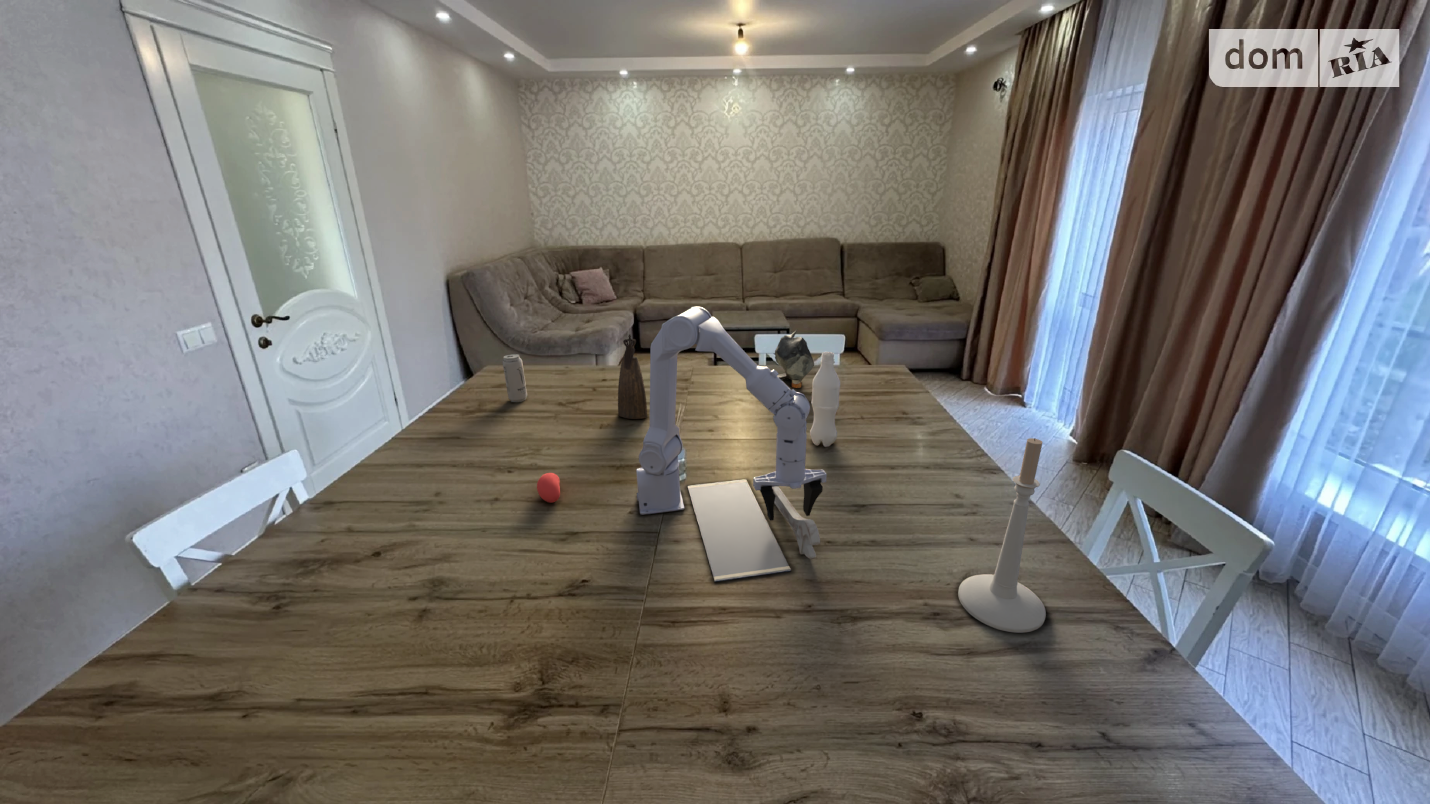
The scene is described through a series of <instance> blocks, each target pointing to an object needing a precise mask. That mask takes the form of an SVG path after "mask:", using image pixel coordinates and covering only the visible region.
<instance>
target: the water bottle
mask: <svg viewBox="0 0 1430 804" xmlns="http://www.w3.org/2000/svg"><path fill="white" fill-rule="evenodd" d="M834 357H835V353H834V352H833V351H823V352H821V359H820V362H819V363H820V367H819V368H818V371H817V372H816V374H815V375H814V377H813V378H812V383H811V386H812V388H811V389H812V391H811V392H812V393H811V402H810V403H811V404H810V405H811V407H812V410H813V422H812V426H811V429H809V435H810V439H811V441H812V443H813V444H814V445H815V446H819V445H820V444H821V443H822V445H823V447H825V448H829V447H830V446H831V445H833V444H834V443H835V442H836V440H837V438H838V431H837V426H836V413H837V411H838V409H839V408H840V391H841V390H840V389H841V380H840V378H839V375H838V374H837V373H838V372H837V370H836V369H835V363H836V361H835V358H834Z"/></svg>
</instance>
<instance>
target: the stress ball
mask: <svg viewBox="0 0 1430 804" xmlns="http://www.w3.org/2000/svg"><path fill="white" fill-rule="evenodd" d="M560 483H561V480H560V477H559V476H558V474H556V473H554V472H546V473H543V474H542V475H541V476H540V477H539V478H538V479H537V483H536V490H537V493H538V496H539V497H540V498H541V499H542V501H545V502H547V503H550V504H551V503H552V504H553V503H555V502H557V501H558V500H559V498H560V497H561V487H560Z"/></svg>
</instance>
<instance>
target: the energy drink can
mask: <svg viewBox="0 0 1430 804" xmlns="http://www.w3.org/2000/svg"><path fill="white" fill-rule="evenodd" d="M502 368H503V374H504V380H505V387H506V392H507V397H508V400H510V402H511V403H522V402H524V401H526V400H527V398H528V390H527V384H526V377H525V370H524V364H523V360H522V358H521V356H520V354H516V353H511V354H510V353H509V354H505V355H504V356H503V360H502Z"/></svg>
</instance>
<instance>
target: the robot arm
mask: <svg viewBox="0 0 1430 804" xmlns="http://www.w3.org/2000/svg"><path fill="white" fill-rule="evenodd" d="M694 345H696V347H695V348H694V349H695V350H694V351H697V352H710V353H711V352H712V353H715V354H716V355H717V356H718V357H719V358H720V359H722V360H723V361H724V362H725V363H726V364H727V365H729V366H730V367H731V368H732V369H733V370H734V371H736V373H738V374H739V375H740V376H741V377H742V378H743V379H744V380H745V387H746V388H745V389H746V390H747V391H748V392H749V393H750V394H751V395H752V396H753V397H754V398H755V399H756V400H757V401H758V402H760V404H761V405H762V406H764V407H765V408H766V409H767V410H768V411H769V412H770V413H771V414H772V415H773V416H772V418H773V423H774V424H775V426H776V427H777V429H776V430H777V431H776V445H775V471H772V472H768V473H766V474H763V475H759V476H753V478H752V486H753V488H754V489H755V491H759V492H760V494H761V496H762V499H763V502H764V504H765V508H766V514H767V517H768V520H769V521H774V520H775V503H774V502H775V497H776V496H775V494H774V492H773V489H772V487H775V486H778V487H789V488H790V489H792V490H796V489H801V488H802V485H803V502H802V503H803V504H802V511H803V512H804V514H805V516H806V517H809V516H811V512H812V510H813V507H814V505H815V503H816V501H817V499H818V498H819V497H820V495H821V494H822V493H823V489H824V487H823V485H822V484H824V483H827V478H828V477H827V475H828V473H827V472H826V471H825V470H824V469H809V468H806V459H807V458H806V457H807V437H808V434H807V429H808V428H807V418H808V416H809V414H810V411H811V404H810V402H809V400H808V398H807V397H806V394H804V393H802V392H799V391H796V390H795V388H792V389H791V388H790V387H789V386H788V385H787V384H786V383H785V382H784V381H783V379H780V378H779V377H778V375H780V374H779V372H778V371H777V370H776V369H772V370H771V369H770V368H769V366H760V365H758V364H757V363H756V362H755V361H754V360H753V359H752V358H751V357H750V355H748V354H747V352H745V350H743V348H742V347H741V346H740V345H739V344H738V343H737V342H736V340H735V339H734V338H733V337H732V336H731V335H730V334H729V333H728V331H726V330H725V328H724V327H723V325H722V324H721V322H720V321H719V319H717V317H715V316H712V315H711V313H710V311H708V310H707V309H706V308H704V307H702V306H691V307H690V308H688V309H686V310H685V311H683V312H681V313H680V314H677V315H676V316H673V317H671V318H669V319H668V320H667V321H665V322H663V323H662V324H661V328H660V330H659V331H658V333H657V335H656V336H655V337H654V339H653V340H652V342H651V344H650V349H649V350H650V355H649V356H650V359H649V363H650V364H649V427H648V429H647V432H646V434H645V436H644V438H643V441H642V448H641V450H640V452H639V454H638V462H639V465H640V467H638V468H635V472H636V484H637V485H636V487H637V492H636V501H637V502H638V507H639V514H640V515H651V514H661V513H668V512H669V513H670V512H677V511H683V510H685V504H684V500H683V496H682V492H681V483H680V481H681V480H680V463H679V455H681V453H682V452H683V448H684V445H683V440H682V438H681V435H680V427H679V426H678V425H677V424H676V415H677V413H676V411H677V409H676V408H677V384H678V383H677V381H678V354H679V353H680V352H682V351H684V350H688V349H690V348H692V347H694Z"/></svg>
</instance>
